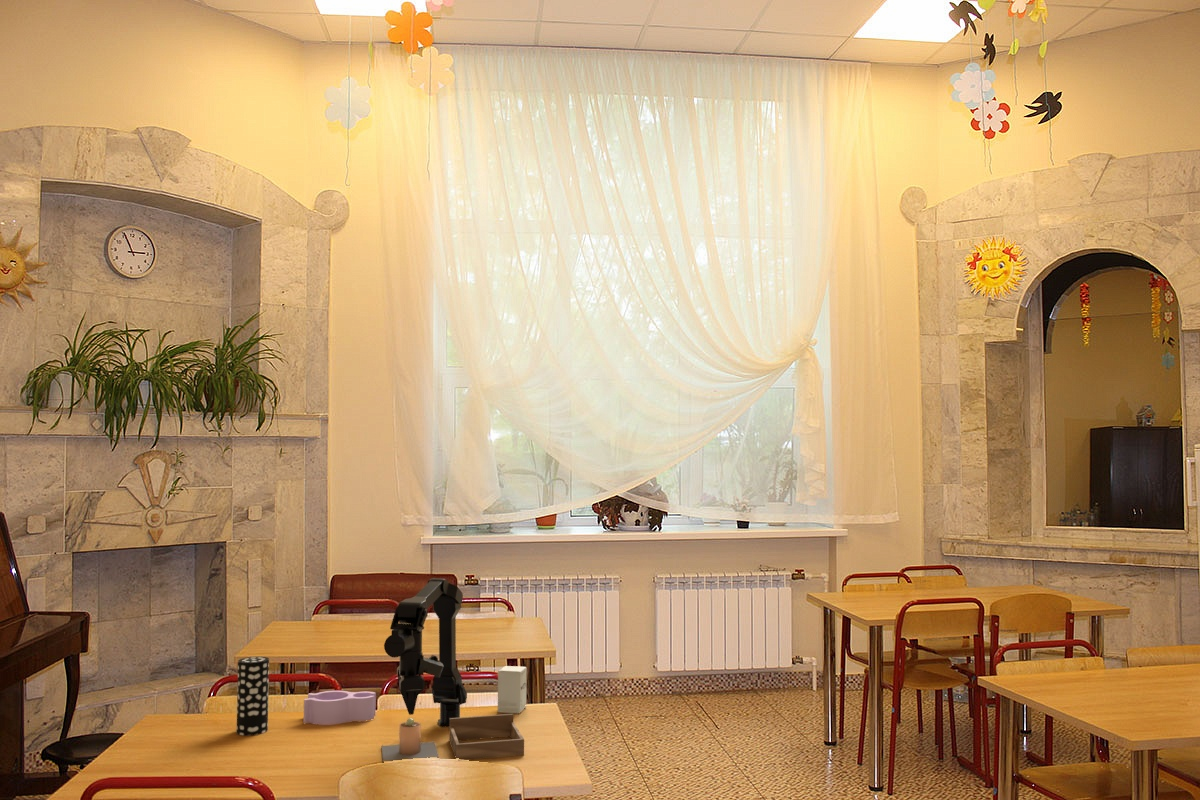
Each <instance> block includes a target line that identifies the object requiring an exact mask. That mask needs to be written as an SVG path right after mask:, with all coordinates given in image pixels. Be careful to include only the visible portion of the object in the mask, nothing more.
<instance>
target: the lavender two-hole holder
mask: <svg viewBox="0 0 1200 800" xmlns="http://www.w3.org/2000/svg"><path fill="white" fill-rule="evenodd" d="M376 696H377V695H376V692H374V691H366V690H365V691H347V690H326V691H320V692H316V693H314V692H313V693H312V692H310V693H307V698H304V699H303V724H304V723H307V724H313V725H317V724H318V725H319V726H331V725H333V726H334V725H340V724H344V723H351V722H352V721H365V722H367V721H366V720H371V719H374V720H375V717H376V707H377V706H376V704H377V702H376V700H377V699H376ZM371 721H372V720H371ZM352 723H353V722H352ZM318 725H317V726H318Z"/></svg>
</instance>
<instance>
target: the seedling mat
mask: <svg viewBox="0 0 1200 800" xmlns="http://www.w3.org/2000/svg"><path fill="white" fill-rule="evenodd" d="M436 746H437V745H436V743H435V741H430V742H429V741H425V742H421V751H420V753H418V754H414V755H402V754H400V753H399V744H387V745H381V757H382V763H383V762H384V761H393V760H402V759H413V758H427V757H428V758H430V757H437V758H439V759H440V756H439V753H438V749H437V747H436Z"/></svg>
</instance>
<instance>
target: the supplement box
mask: <svg viewBox="0 0 1200 800" xmlns="http://www.w3.org/2000/svg"><path fill="white" fill-rule="evenodd" d="M527 668H528V667H527V666H520V665H519V666H516V665H513V666H511V665H504V666H503V667H502V668H500V669H499V670H498V671H497V713H504V714H518V713H519V714H520V712H521V713H522V711H524V710H525V709H526V708H527V672H528V671H527ZM525 705H526V706H525ZM524 708H525V709H524Z"/></svg>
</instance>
